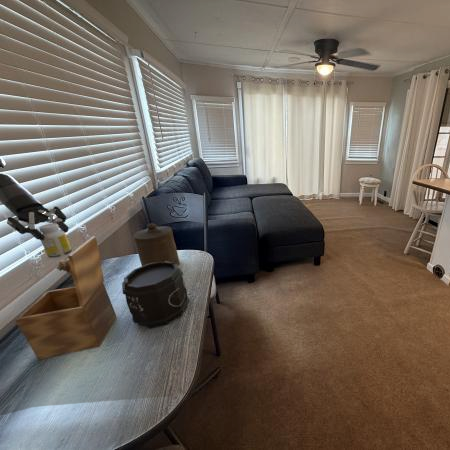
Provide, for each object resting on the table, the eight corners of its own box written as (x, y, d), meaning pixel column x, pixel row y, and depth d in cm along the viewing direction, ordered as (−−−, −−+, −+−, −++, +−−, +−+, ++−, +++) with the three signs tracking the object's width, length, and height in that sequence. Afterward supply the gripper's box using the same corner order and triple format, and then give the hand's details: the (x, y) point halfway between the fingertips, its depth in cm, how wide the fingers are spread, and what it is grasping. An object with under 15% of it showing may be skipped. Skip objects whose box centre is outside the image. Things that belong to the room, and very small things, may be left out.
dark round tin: (192, 289, 95) (184, 255, 89) (188, 321, 79) (178, 281, 73) (141, 300, 90) (129, 264, 84) (125, 336, 74) (109, 294, 68)
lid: (67, 255, 60) (71, 255, 60) (92, 236, 71) (95, 236, 71) (79, 306, 65) (83, 306, 65) (101, 280, 76) (104, 280, 76)
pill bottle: (74, 249, 92) (62, 221, 88) (71, 256, 87) (59, 226, 83) (50, 254, 89) (38, 225, 84) (46, 261, 84) (32, 230, 79)
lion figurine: (60, 281, 102) (51, 263, 99) (71, 274, 107) (63, 257, 104) (93, 281, 102) (85, 263, 98) (103, 274, 107) (96, 257, 103)
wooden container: (184, 259, 118) (175, 217, 110) (171, 275, 104) (159, 229, 96) (154, 260, 118) (142, 218, 109) (137, 277, 104) (121, 231, 96)
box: (38, 360, 67) (14, 320, 61) (65, 327, 78) (47, 291, 73) (99, 346, 70) (82, 307, 65) (116, 317, 82) (103, 282, 76)
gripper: (-10, 198, 75) (31, 236, 76) (46, 189, 88) (80, 221, 89) (-12, 213, 79) (27, 249, 80) (42, 202, 91) (75, 233, 93)
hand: (55, 234), depth 84 cm, fingers closed on pill bottle, 6 cm apart
